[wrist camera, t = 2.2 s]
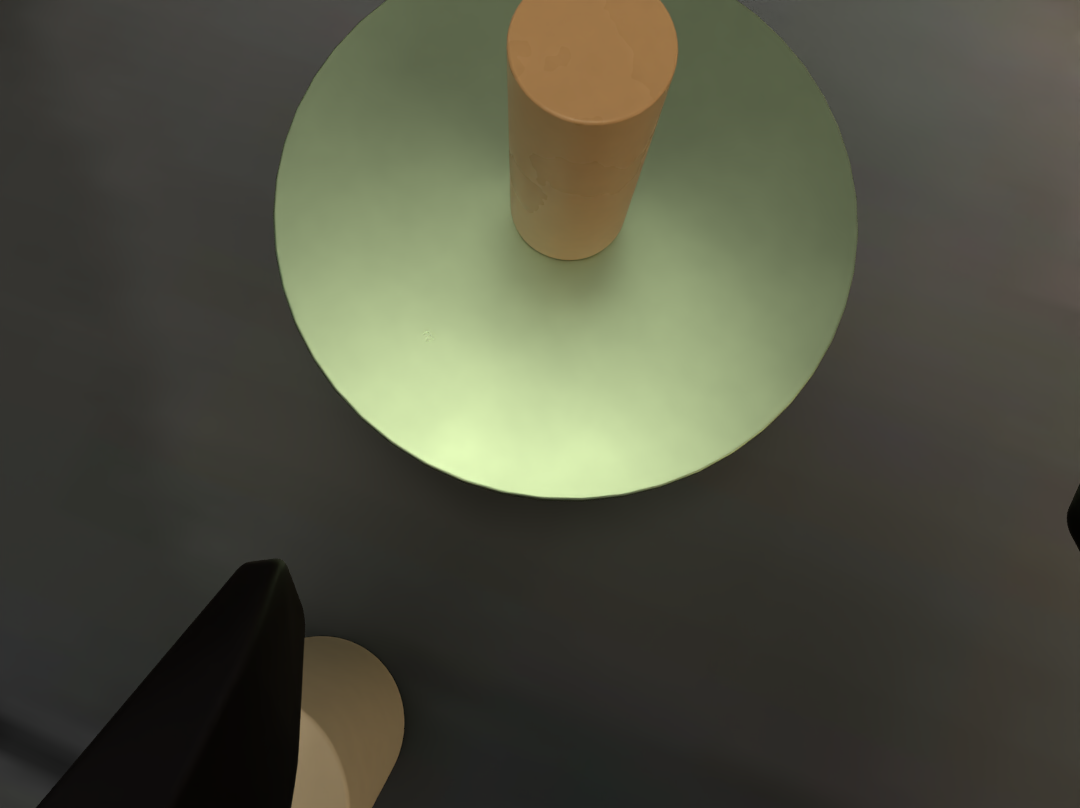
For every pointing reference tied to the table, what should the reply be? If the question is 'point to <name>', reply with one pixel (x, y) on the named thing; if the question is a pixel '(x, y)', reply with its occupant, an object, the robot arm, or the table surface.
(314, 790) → the candle
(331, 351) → the lid
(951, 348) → the table surface
